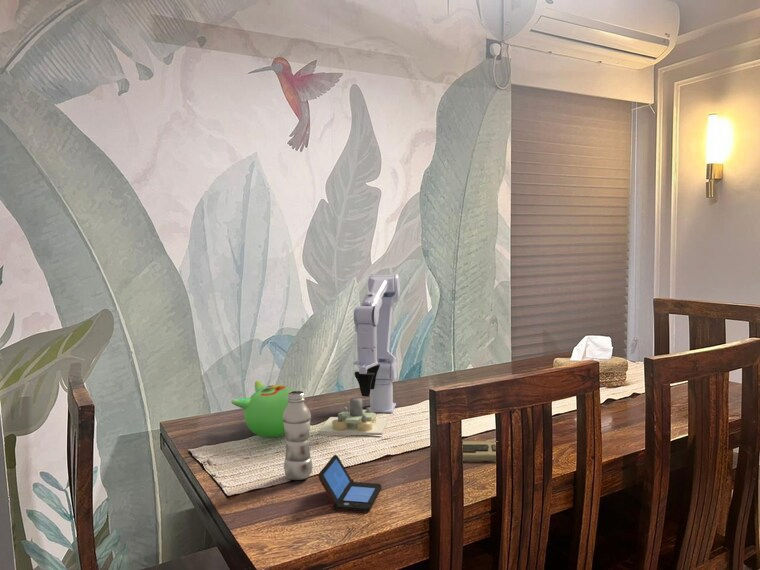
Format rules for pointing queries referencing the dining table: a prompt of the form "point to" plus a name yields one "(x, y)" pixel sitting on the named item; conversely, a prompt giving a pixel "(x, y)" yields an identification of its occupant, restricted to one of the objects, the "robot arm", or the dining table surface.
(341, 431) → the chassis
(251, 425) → the round green creature toy
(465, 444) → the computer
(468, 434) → the dining table surface
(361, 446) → the dining table surface
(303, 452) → the plastic bottle
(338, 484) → the handheld game console
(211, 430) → the dining table surface
